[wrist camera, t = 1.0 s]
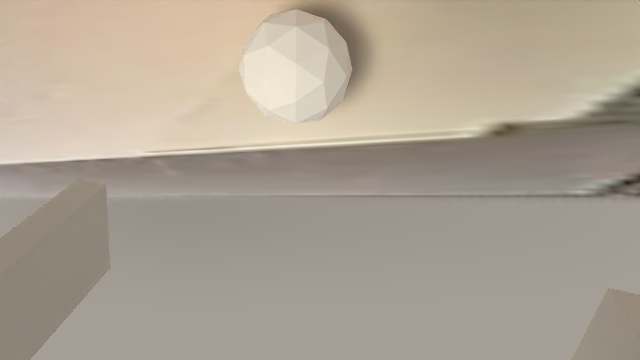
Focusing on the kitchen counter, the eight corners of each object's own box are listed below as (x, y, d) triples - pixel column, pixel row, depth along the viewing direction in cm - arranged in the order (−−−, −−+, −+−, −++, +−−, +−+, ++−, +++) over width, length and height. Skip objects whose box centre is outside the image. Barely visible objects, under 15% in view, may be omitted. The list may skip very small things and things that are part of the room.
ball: (309, 75, 42) (263, 148, 39) (254, -5, 37) (196, 70, 34) (385, 66, 37) (341, 149, 34) (334, -28, 32) (276, 57, 29)
